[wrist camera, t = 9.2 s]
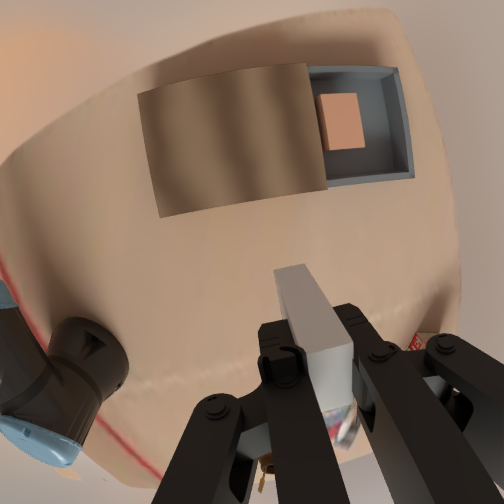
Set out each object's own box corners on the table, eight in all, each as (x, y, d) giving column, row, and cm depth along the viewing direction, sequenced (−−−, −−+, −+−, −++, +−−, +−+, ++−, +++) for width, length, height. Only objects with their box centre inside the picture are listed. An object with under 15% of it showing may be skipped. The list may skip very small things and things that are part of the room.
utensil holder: (289, 445, 51) (296, 491, 40) (262, 452, 52) (264, 497, 41) (281, 432, 50) (287, 481, 38) (252, 439, 50) (253, 487, 39)
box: (316, 184, 35) (325, 187, 31) (298, 76, 31) (305, 66, 27) (397, 175, 35) (414, 178, 31) (382, 75, 31) (397, 67, 26)
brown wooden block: (173, 208, 36) (159, 218, 30) (153, 103, 32) (137, 94, 26) (314, 184, 35) (327, 189, 30) (296, 77, 31) (305, 62, 25)
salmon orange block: (329, 150, 28) (365, 147, 28) (320, 94, 26) (356, 92, 26) (316, 151, 33) (346, 148, 33) (308, 104, 32) (339, 102, 31)
